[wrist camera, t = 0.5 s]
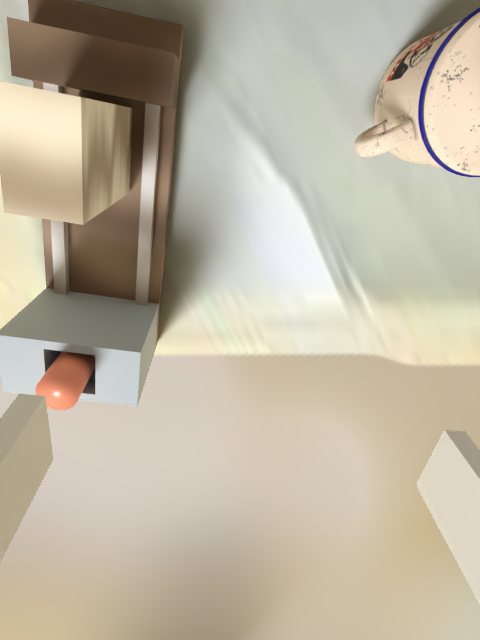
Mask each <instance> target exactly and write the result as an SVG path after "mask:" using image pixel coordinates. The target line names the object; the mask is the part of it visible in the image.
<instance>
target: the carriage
mask: <svg viewBox="0 0 480 640" xmlns="http://www.w3.org/2000/svg"><path fill="white" fill-rule="evenodd" d="M132 110H133V108H130V107H125V106H120V105H116V104H111V103H106V102H102V101H97V100H92V99H87V98H83V97H78V96H73V95H68V94H62V93H57V92H52V91H47V90H42V89H37V88H32V87H27V86H21V85H16V84H11V83H6V82H1V81H0V175H1V184H2V194H3V203H4V212H5V213H11V214H18V215H24V216H30V217H37V218H43V219H49V220H55V221H62V222H68V223H74V224H81V225H84V224H85V223H86V222H88V221H89V220H91V219H92V218H94V217H95V216H97V215H98V214H100V213H101V212H102V211H104V210H105V209H107V208H108V207H110V206H111V205H113V204H114V203H116V202H117V201H119V200H120V199H121V198H123V197H124V196H126V195H127V194H129V188H130V162H131V136H132Z"/></svg>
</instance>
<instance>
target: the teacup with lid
mask: <svg viewBox="0 0 480 640" xmlns="http://www.w3.org/2000/svg"><path fill="white" fill-rule="evenodd" d="M375 124H376V125H375V126H373V127H371V128H369V129H368V130H366V131H364V132H363V133H362V134H360V135H359V136H358V137H357V139H356V140H355V149H356V152H357V154H358V155H359V156H361V157H371V156H375V155H379V154H382V153H385V152H387V151H390V152H391V153H392V154H393V155H395V156H396V157H398V158H400V159H402V160H405V161H408V162H413V163H419V164H424V165H429V166H435V167H440V168H444V169H446V170H448V171H450V172H452V173H454V174H457V175H461V176H467V177H480V8H478V9H477V10H475V11H474V12H472V13H471V14H470V15H468V16H467V17H466V18H465V19H463V20H462V21H459V22H457V23H455V24H453V25H451V26H448V27H446V28H444V29H442V30H440V31H437V32H435V33H433V34H431V35H428V36H426V37H424V38H422V39H420V40H418V41H416V42H414V43H413V44H411V45H410V46H408V47H407V48H406V49H405V50H404V51H402V52H401V53H400V54H399V55H398V56H397V57H396V59H395V60H394V61H393V62H392V64H391V65H390V66H389V68H388V70H387V71H386V73H385V75H384V77H383V79H382V81H381V83H380V86H379V89H378V92H377V96H376V101H375Z"/></svg>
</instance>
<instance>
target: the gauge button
mask: <svg viewBox="0 0 480 640" xmlns="http://www.w3.org/2000/svg"><path fill="white" fill-rule="evenodd" d="M94 369H95V358H94V356H93V355H89V354H81V353H72V352H64V351H61V352H60V354H59V355H58V356H57V358H56V359H55V361H54V362H53V363H52V365H51V366H50V367H49V369H48V370H47V371H46V373H45V374H44V376H43V377H42V378H41V380H40V381H39V382H38V384H37V385H36V389H35V392H36V395H41V396H45V397H46V405H47V407H49V408H52V409H55V410H66V409H69V408H71V407H73V406H74V405H75V404H76V402H77V401H78V399H79V397H80V395H81V393H82V392H83V390H84V388H85V386H86V384H87V382H88V380H89V379H90V377H91V375H92V373H93V371H94Z"/></svg>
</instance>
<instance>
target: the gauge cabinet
mask: <svg viewBox="0 0 480 640" xmlns="http://www.w3.org/2000/svg"><path fill="white" fill-rule="evenodd" d="M158 309H159V304H157V303H150V302H148V303H147V306H143V305H136V304H135V300H128V299H121V298H114V297H107V296H99V295H92V294H85V293H78V292H71V291H69V293H68V294H67V295H64V294H56V293H54V289H49V288H46V289H45V290H44V291H43V292H42V293H41V294H39V295H38V296H37V297H36V298H35V299H34V300H33V301H32V302H31V303H29V304H28V305H27V306H26V307H25V308H24V309H23V310H22V311H21V312H19V313H18V314H17V315H16V316H15V317H14V318H13V319H12V320H11V321H10V322H8V323H7V324H6V325H5V326H4V327H3V328H2V329H1V330H0V375H1V382H2V389H3V392H10V393H19V394H29V395H36V392H35V389H36V385H37V384H38V382H39V381H40V380H41V378H42V377H43V376H44V374H45V373H46V371H47V370H48V369H49V367H50V366H51V365H52V363H53V362H54V361H55V359H56V358H57V356H58V355H59V354H60V352H61V351H64V352H72V353H81V354H89V355H93V356H94V358H95V369H94V371H93V373H92V375H91V377H90V379H89V380H88V382H87V384H86V386H85V388H84V390H83V392H82V393H81V395H80V397H79V399H78V400H84V401H93V402H103V403H111V404H121V405H131V406H137V405H138V402H139V399H140V396H141V393H142V390H143V386H144V383H145V380H146V377H147V374H148V371H149V367H150V364H151V361H152V358H153V355H154V351H155V345H156V333H157V321H158Z"/></svg>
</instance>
